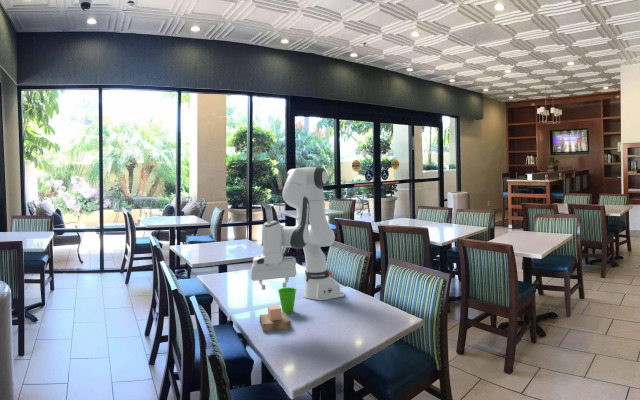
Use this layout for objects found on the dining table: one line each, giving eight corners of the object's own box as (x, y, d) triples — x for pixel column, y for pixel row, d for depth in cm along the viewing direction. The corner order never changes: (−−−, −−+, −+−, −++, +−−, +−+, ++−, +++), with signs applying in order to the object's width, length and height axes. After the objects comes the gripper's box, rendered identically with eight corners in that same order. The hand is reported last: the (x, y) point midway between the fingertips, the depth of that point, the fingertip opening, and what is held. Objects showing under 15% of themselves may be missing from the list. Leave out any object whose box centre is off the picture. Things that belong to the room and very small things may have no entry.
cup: (276, 310, 212) (275, 288, 211) (294, 307, 215) (293, 286, 214) (281, 316, 204) (280, 293, 203) (299, 313, 207) (298, 291, 206)
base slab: (285, 320, 199) (285, 312, 199) (290, 329, 188) (290, 321, 187) (259, 323, 196) (259, 315, 196) (263, 333, 184) (263, 324, 184)
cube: (279, 315, 194) (278, 305, 194) (281, 319, 189) (281, 308, 189) (268, 317, 193) (267, 306, 192) (270, 320, 188) (270, 309, 187)
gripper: (294, 254, 195) (295, 283, 196) (249, 258, 190) (250, 288, 191) (297, 257, 189) (298, 287, 190) (250, 261, 184) (252, 292, 185)
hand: (274, 288), depth 190 cm, fingers open, 8 cm apart
